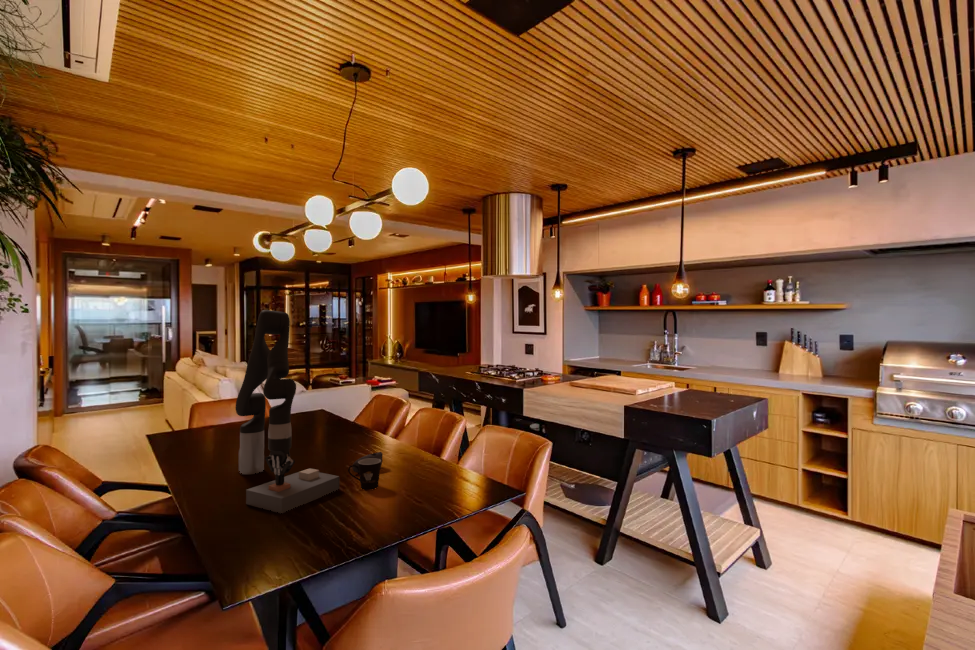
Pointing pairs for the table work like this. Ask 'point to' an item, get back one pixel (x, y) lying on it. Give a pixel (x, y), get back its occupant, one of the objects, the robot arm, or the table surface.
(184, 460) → the table surface
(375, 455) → the perforated stone tool
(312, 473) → the offwhite key
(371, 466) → the coffee mug
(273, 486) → the terracotta key
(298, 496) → the key panel
